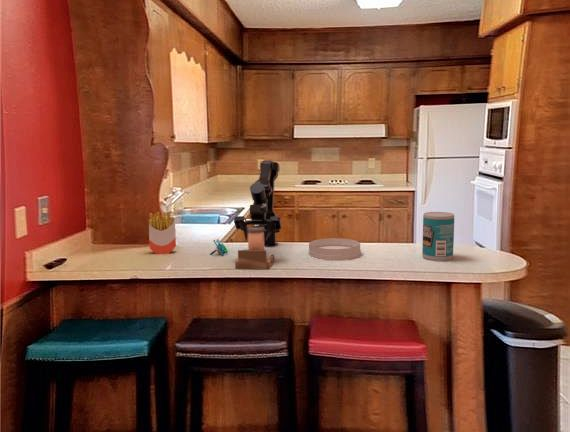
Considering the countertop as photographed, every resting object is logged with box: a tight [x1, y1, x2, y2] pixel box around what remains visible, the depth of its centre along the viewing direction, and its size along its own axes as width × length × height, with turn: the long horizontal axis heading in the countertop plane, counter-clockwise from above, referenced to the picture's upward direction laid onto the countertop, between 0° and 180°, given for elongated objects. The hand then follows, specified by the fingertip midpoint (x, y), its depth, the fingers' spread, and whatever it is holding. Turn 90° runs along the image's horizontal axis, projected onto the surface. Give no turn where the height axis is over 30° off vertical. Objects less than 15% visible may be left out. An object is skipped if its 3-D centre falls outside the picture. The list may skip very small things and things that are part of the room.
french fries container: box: [148, 211, 177, 255], centre depth 229 cm, size 5×11×18 cm, turn 94°
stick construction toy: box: [209, 238, 229, 256], centre depth 226 cm, size 12×7×8 cm
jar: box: [247, 225, 266, 250], centre depth 208 cm, size 7×7×14 cm
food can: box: [421, 211, 455, 262], centre depth 210 cm, size 12×12×18 cm
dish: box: [308, 237, 362, 261], centre depth 221 cm, size 22×22×5 cm
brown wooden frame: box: [234, 249, 275, 270], centre depth 206 cm, size 13×13×7 cm
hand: (255, 240), depth 207 cm, fingers open, 7 cm apart
